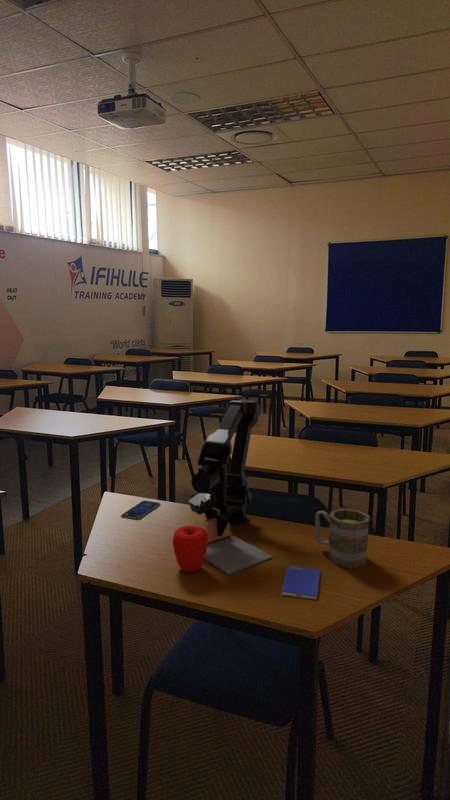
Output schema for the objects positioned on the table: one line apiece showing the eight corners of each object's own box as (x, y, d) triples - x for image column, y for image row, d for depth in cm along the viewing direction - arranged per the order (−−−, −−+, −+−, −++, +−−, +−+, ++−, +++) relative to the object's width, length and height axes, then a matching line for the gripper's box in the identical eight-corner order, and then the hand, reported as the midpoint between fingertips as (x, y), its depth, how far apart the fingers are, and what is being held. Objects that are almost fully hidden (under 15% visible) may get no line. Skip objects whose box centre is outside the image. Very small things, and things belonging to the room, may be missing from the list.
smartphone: (119, 515, 162) (142, 500, 176) (119, 518, 162) (143, 502, 176) (139, 518, 160) (161, 502, 173) (139, 521, 160) (161, 505, 174)
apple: (201, 558, 135) (202, 519, 133) (212, 573, 127) (212, 532, 125) (169, 563, 132) (169, 523, 130) (178, 579, 124) (177, 537, 122)
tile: (224, 533, 151) (224, 514, 150) (229, 535, 149) (229, 516, 148) (202, 540, 146) (202, 520, 145) (207, 543, 144) (207, 523, 143)
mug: (375, 558, 136) (378, 515, 134) (356, 572, 128) (358, 527, 126) (324, 540, 146) (326, 501, 144) (303, 553, 138) (305, 511, 136)
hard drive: (287, 565, 129) (281, 590, 117) (320, 569, 127) (317, 595, 115) (287, 571, 129) (281, 597, 117) (320, 575, 127) (316, 601, 116)
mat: (234, 537, 148) (234, 536, 148) (272, 557, 135) (272, 556, 135) (192, 551, 139) (192, 550, 139) (228, 574, 126) (228, 573, 126)
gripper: (175, 479, 147) (175, 530, 149) (213, 497, 132) (213, 553, 135) (206, 472, 154) (205, 521, 156) (245, 489, 139) (245, 542, 142)
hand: (216, 533), depth 147 cm, fingers open, 3 cm apart
